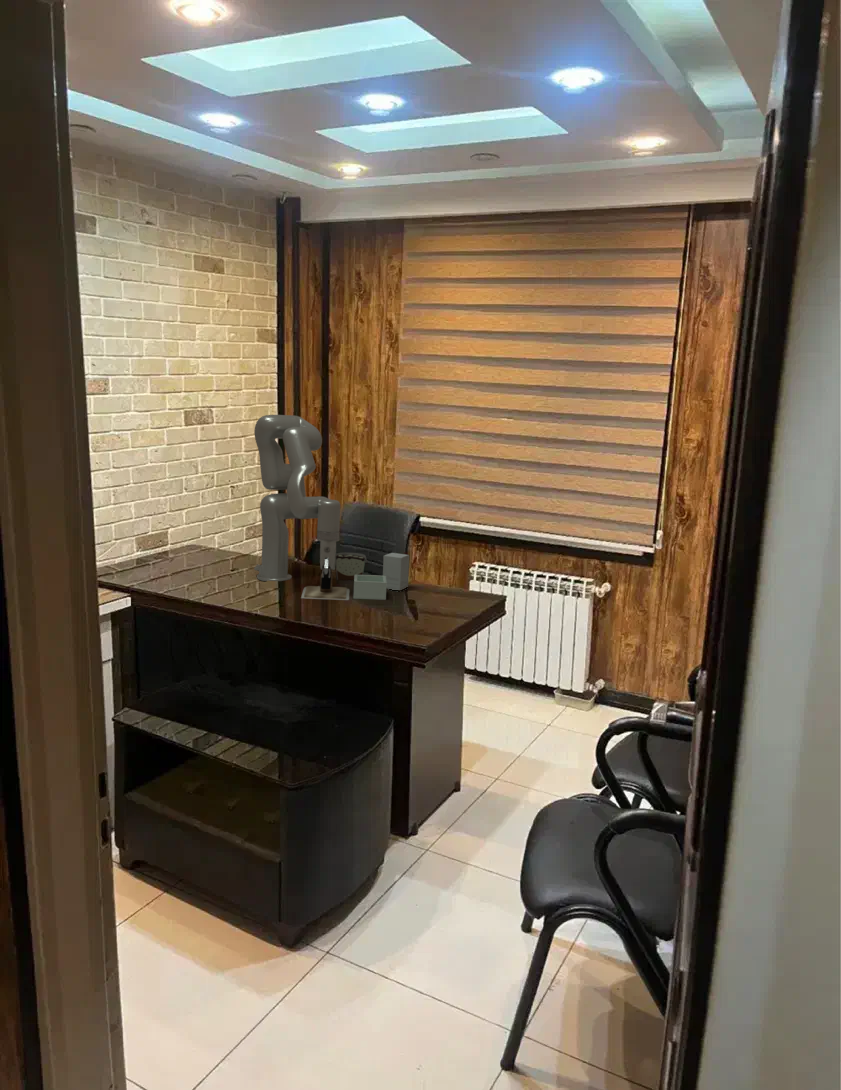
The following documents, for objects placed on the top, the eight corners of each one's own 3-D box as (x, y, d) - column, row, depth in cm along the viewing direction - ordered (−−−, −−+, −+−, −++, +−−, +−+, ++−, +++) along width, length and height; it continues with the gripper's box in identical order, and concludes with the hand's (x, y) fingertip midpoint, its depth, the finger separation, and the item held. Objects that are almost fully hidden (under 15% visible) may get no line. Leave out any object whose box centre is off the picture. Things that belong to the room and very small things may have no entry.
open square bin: (353, 600, 278) (354, 581, 277) (353, 592, 289) (354, 574, 288) (385, 601, 279) (386, 582, 278) (384, 593, 290) (385, 575, 288)
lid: (304, 597, 275) (304, 577, 274) (306, 588, 289) (307, 569, 288) (345, 599, 276) (346, 579, 275) (346, 589, 290) (347, 570, 289)
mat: (300, 599, 274) (301, 598, 274) (304, 588, 290) (304, 587, 290) (348, 601, 275) (348, 599, 275) (349, 590, 291) (349, 589, 291)
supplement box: (408, 588, 300) (410, 554, 298) (399, 592, 293) (401, 557, 291) (390, 585, 303) (392, 552, 301) (381, 589, 296) (383, 555, 294)
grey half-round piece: (368, 579, 311) (369, 553, 309) (365, 583, 305) (366, 556, 303) (336, 577, 312) (337, 551, 310) (333, 580, 306) (334, 554, 304)
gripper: (338, 540, 271) (336, 592, 274) (339, 532, 288) (337, 580, 291) (315, 539, 270) (313, 591, 273) (318, 531, 287) (316, 580, 290)
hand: (326, 585), depth 282 cm, fingers open, 7 cm apart
